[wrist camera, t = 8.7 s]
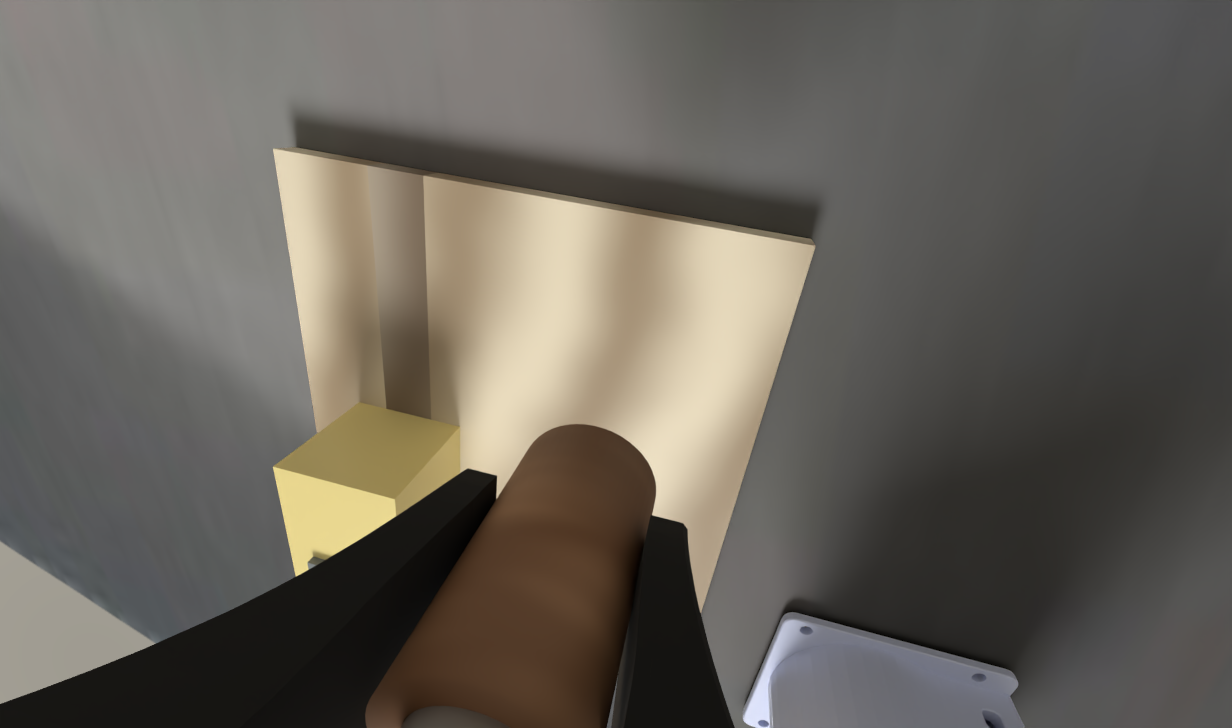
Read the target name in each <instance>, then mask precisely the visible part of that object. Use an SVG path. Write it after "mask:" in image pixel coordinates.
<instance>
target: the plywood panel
mask: <svg viewBox="0 0 1232 728" xmlns="http://www.w3.org/2000/svg"><path fill="white" fill-rule="evenodd" d="M273 151H274V157H275V164H276V170H277V177H278V183H279V190H280V196H281V203H282V209H283V216H284V222H285V229H286V235H287V241H288V248H289V254H290V261H291V267H292V274H293V280H294V287H295V293H296V300H297V306H298V313H299V319H300V326H301V332H302V339H303V345H304V351H305V358H306V364H307V371H308V377H309V384H310V390H311V397H312V403H313V410H314V416H315V423H316V429H317V433H319V432H320V431H321V430H323V429H324V428H325V427H327V426H328V425H329V424H331V423H332V422H333V421H335V420H336V419H337V418H339V417H340V416H341V415H343V414H344V413H345V412H347V411H348V410H349V409H351V408H352V407H353V406H355V405H356V404H357V403H359V402H361V403H365V404H369V405H373V406H377V407H381V408H385V409H389V410H393V411H398V412H402V413H406V414H410V415H414V416H418V417H422V418H426V419H430V420H434V421H438V422H443V423H447V424H451V425H455V426H459V427H460V473H461V472H463V471H464V470H466V469H468V468H469V469H473V470H477V471H481V472H485V473H489V474H492V475H496V476H497V494H496V499H497V498H498V496H499V494H500V493H501V491H502V490H503V488H504V487H505V485H506V483H507V482H508V480H509V479H510V477H511V476H512V474H513V472H514V471H515V469H516V468H517V466H518V465H519V463H520V461H521V460H522V458H523V457H524V455H525V453H526V452H527V450H528V449H529V447H530V446H531V445H532V443H533V442H534V441H535V440H536V439H537V438H538V437H539V436H540V435H542V434H543V433H545V432H547V431H549V430H551V429H553V428H556V427H559V426H563V425H569V424H586V425H592V426H597V427H601V428H604V429H607V430H609V431H612V432H614V433H616V434H618V435H620V436H621V437H623V438H624V439H626V440H627V441H629V442H630V443H631V444H632V445H634V446H635V447H636V448H637V449H638V450H639V451H640V452H641V454H642V455H643V456H644V457H645V459H646V460H647V462H648V463H649V465H650V467H651V469H652V472H653V475H654V477H655V482H656V499H655V504H654V509H653V513H652V515H653V516H657V517H661V518H665V519H669V520H673V521H677V522H681V523H683V524H684V525H685V526H686V528H687V529H688V546H689V555H690V562H691V569H692V575H693V580H694V586H695V591H696V596H697V600H698V605H699V609H700V613H701V611H702V608H703V605H704V602H705V598H706V595H707V592H708V589H709V586H710V582H711V579H712V576H713V573H714V570H715V566H716V563H717V560H718V557H719V554H720V550H721V547H722V544H723V541H724V538H725V534H726V531H727V528H728V525H729V522H730V518H731V515H732V512H733V509H734V506H735V502H736V499H737V496H738V493H739V490H740V486H741V483H742V480H743V477H744V474H745V470H746V467H747V464H748V461H749V458H750V454H751V451H752V448H753V445H754V442H755V438H756V435H757V432H758V429H759V426H760V422H761V419H762V416H763V413H764V410H765V406H766V403H767V400H768V397H769V394H770V390H771V387H772V384H773V381H774V378H775V374H776V371H777V368H778V365H779V362H780V358H781V355H782V352H783V349H784V346H785V342H786V339H787V336H788V333H789V330H790V326H791V323H792V320H793V317H794V314H795V310H796V307H797V304H798V301H799V298H800V294H801V291H802V288H803V285H804V282H805V278H806V275H807V272H808V269H809V266H810V262H811V259H812V256H813V253H814V250H815V244H814V243H813V241H812V239H809V238H803V237H797V236H792V235H786V234H781V233H775V232H769V231H764V230H758V229H752V228H747V227H741V226H736V225H730V224H724V223H719V222H713V221H707V220H702V219H696V218H691V217H685V216H679V215H674V214H668V213H662V212H657V211H651V210H646V209H640V208H634V207H629V206H623V205H617V204H612V203H606V202H601V201H595V200H589V199H584V198H578V197H573V196H567V195H561V194H556V193H550V192H544V191H539V190H533V189H528V188H522V187H516V186H511V185H505V184H499V183H494V182H488V181H483V180H477V179H471V178H466V177H460V176H454V175H449V174H443V173H438V172H432V171H426V170H421V169H415V168H409V167H404V166H398V165H393V164H387V163H381V162H376V161H370V160H364V159H359V158H353V157H348V156H342V155H336V154H331V153H325V152H319V151H314V150H308V149H303V148H297V147H292V148H276V149H273Z"/></svg>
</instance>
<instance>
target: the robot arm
mask: <svg viewBox="0 0 1232 728" xmlns="http://www.w3.org/2000/svg"><path fill="white" fill-rule="evenodd" d="M496 494H497V476H496V475H492V474H489V473H485V472H481V471H477V470H473V469H469V468H468V469H466V470H464V471H463V472H461V473H459V474H458V475H456V476H455V477H453V478H452V479H450V480H449V481H448V482H446V483H445V484H443V485H442V486H440V487H439V488H437V489H436V490H434V491H433V492H431V493H430V494H429V495H427V496H426V497H424V498H423V499H421V500H420V501H418V502H417V503H415V504H414V505H412V506H411V507H409V508H408V509H406V510H405V511H403V512H402V513H400V514H399V515H397V516H396V517H394V518H392V519H391V520H389V521H388V522H386V523H385V524H383V525H382V526H380V527H379V528H377V529H375V530H374V531H372V532H371V533H369V534H368V535H366V536H365V537H363V538H361V539H360V540H358V541H356V542H355V543H353V544H351V545H350V546H348V547H346V548H345V549H343V550H341V551H340V552H338V553H336V554H334V555H333V556H331V557H329V558H328V559H326V560H324V561H323V562H321V563H319V564H318V565H316V566H314V567H312V568H311V569H309V570H307V571H305V572H303V573H302V574H300V575H298V576H296V577H294V578H293V579H291V580H289V581H287V582H285V583H283V584H281V585H280V586H278V587H276V588H274V589H272V590H270V591H268V592H266V593H264V594H262V595H260V596H258V597H256V598H254V599H252V600H250V601H248V602H246V603H244V604H242V605H240V606H238V607H236V608H234V609H232V610H230V611H228V612H226V613H224V614H221V615H219V616H217V617H215V618H213V619H210V620H208V621H206V622H204V623H201V624H199V625H197V626H195V627H192V628H190V629H188V630H186V631H183V632H181V633H179V634H177V635H174V636H172V637H170V638H168V639H165V640H163V641H161V642H159V643H156V644H154V645H152V646H150V647H147V648H145V649H143V650H140V651H138V652H135V653H133V654H131V655H128V656H126V657H123V658H121V659H118V660H116V661H113V662H111V663H108V664H106V665H103V666H101V667H98V668H96V669H93V670H91V671H88V672H86V673H83V674H80V675H78V676H75V677H72V678H70V679H67V680H64V681H62V682H59V683H56V684H54V685H51V686H48V687H46V688H43V689H41V690H38V691H36V692H33V693H30V694H27V695H24V696H21V697H19V698H16V699H13V700H10V701H8V702H5V703H2V704H0V728H367V726H366V720H365V713H366V707H367V704H368V702H369V700H370V698H371V696H372V695H373V693H374V692H375V690H376V688H377V687H378V685H379V684H380V682H381V681H382V679H383V677H384V676H385V674H386V673H387V671H388V670H389V668H390V666H391V665H392V663H393V662H394V660H395V659H396V657H397V655H398V654H399V652H400V651H401V649H402V647H403V646H404V644H405V643H406V641H407V640H408V638H409V636H410V635H411V633H412V632H413V630H414V629H415V627H416V625H417V624H418V622H419V621H420V619H421V618H422V616H423V614H424V613H425V611H426V610H427V608H428V606H429V605H430V603H431V602H432V600H433V599H434V597H435V595H436V594H437V592H438V591H439V589H440V588H441V586H442V584H443V583H444V581H445V580H446V578H447V576H448V575H449V573H450V572H451V570H452V569H453V567H454V565H455V564H456V562H457V561H458V559H459V558H460V556H461V554H462V553H463V551H464V550H465V548H466V547H467V545H468V543H469V542H470V540H471V539H472V537H473V535H474V534H475V532H476V531H477V529H478V528H479V526H480V524H481V523H482V521H483V520H484V518H485V517H486V515H487V513H488V512H489V510H490V509H491V507H492V506H493V504H494V502H495V501H496ZM804 626H807V627H804ZM1017 687H1018V681H1017V679H1016V677H1015V675H1014V673H1013V672H1012V671H1010V670H1007V669H1004V668H1000V667H997V666H993V665H989V664H986V663H982V662H978V661H974V660H971V659H967V658H963V657H959V656H956V655H952V654H948V653H945V652H941V651H937V650H933V649H930V648H926V647H922V646H919V645H915V644H911V643H907V642H904V641H900V640H896V639H893V638H889V637H885V636H881V635H878V634H874V633H870V632H867V631H863V630H859V629H855V628H852V627H848V626H844V625H841V624H837V623H833V622H829V621H826V620H822V619H818V618H815V617H811V616H807V615H803V614H800V613H795V612H790V613H787V614H785V615H784V616H783V617H782V619H781V621H780V624H779V626H778V628H777V631H776V633H775V635H774V638H773V640H772V643H771V645H770V647H769V650H768V652H767V654H766V657H765V659H764V662H763V664H762V666H761V669H760V671H759V673H758V676H757V678H756V681H755V683H754V685H753V688H752V690H751V692H750V695H749V697H748V700H747V702H746V704H745V707H744V709H743V720H744V722H745V723H747V724H748V725H751V726H754V727H757V728H1025V727H1024V725H1023V723H1022V720H1021V718H1020V716H1019V714H1018V712H1017V710H1016V708H1015V706H1014V704H1013V701H1012V699H1011V697H1010V696H1011V694H1012V693H1013V692H1014V691H1015V689H1016V688H1017ZM611 728H734V725H733V722H732V719H731V716H730V713H729V710H728V707H727V704H726V701H725V698H724V695H723V692H722V689H721V685H720V682H719V679H718V676H717V672H716V669H715V666H714V663H713V659H712V655H711V652H710V648H709V645H708V641H707V637H706V633H705V629H704V625H703V621H702V617H701V613H700V609H699V605H698V600H697V596H696V591H695V586H694V580H693V575H692V569H691V562H690V555H689V546H688V529H687V528H686V526H685V525H684V524H683V523H681V522H677V521H673V520H669V519H665V518H661V517H657V516H653V515H651V516H650V520H649V525H648V529H647V534H646V538H645V543H644V547H643V552H642V557H641V561H640V566H639V570H638V575H637V579H636V584H635V591H634V598H633V604H632V610H631V616H630V620H629V625H628V630H627V634H626V639H625V644H624V648H623V653H622V658H621V662H620V667H619V673H618V680H617V688H616V696H615V704H614V711H613V719H612V727H611Z"/></svg>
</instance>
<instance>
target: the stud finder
mask: <svg viewBox="0 0 1232 728" xmlns="http://www.w3.org/2000/svg"><path fill="white" fill-rule="evenodd" d="M273 469H274V473H275V478H276V483H277V488H278V492H279V497H280V502H281V507H282V512H283V516H284V521H285V526H286V531H287V536H288V540H289V545H290V550H291V555H292V560H293V564H294V569H295V574H296V576H298V575H300V574H302V573H303V572H305V571H307V570H309V569H311V568H312V567H314V566H316V565H318V564H319V563H321V562H323V561H324V560H326V559H328V558H329V557H331V556H333V555H334V554H336V553H338V552H340V551H341V550H343V549H345V548H346V547H348V546H350V545H351V544H353V543H355V542H356V541H358V540H360V539H361V538H363V537H365V536H366V535H368V534H369V533H371V532H372V531H374V530H375V529H377V528H379V527H380V526H382V525H383V524H385V523H386V522H388V521H389V520H391V519H392V518H394V517H396V516H397V515H399V514H400V513H402V512H403V511H405V510H406V509H408V508H409V507H411V506H412V505H414V504H415V503H417V502H418V501H420V500H421V499H423V498H424V497H426V496H427V495H429V494H430V493H431V492H433V491H434V490H436V489H437V488H439V487H440V486H442V485H443V484H445V483H446V482H448V481H449V480H450V479H452V478H453V477H455V476H456V475H458V474H459V473H460V427H459V426H455V425H451V424H447V423H443V422H438V421H434V420H430V419H426V418H422V417H418V416H414V415H410V414H406V413H402V412H398V411H393V410H389V409H385V408H381V407H377V406H373V405H369V404H365V403H361V402H359V403H357V404H356V405H355V406H353V407H352V408H351V409H349V410H348V411H347V412H345V413H344V414H343V415H341V416H340V417H339V418H337V419H336V420H335V421H333V422H332V423H331V424H329V425H328V426H327V427H325V428H324V429H323V430H321V431H320V432H319V433H317V434H316V435H315V436H313V437H312V438H311V439H309V440H308V441H307V442H305V443H304V444H303V445H301V446H300V447H299V448H297V449H296V450H295V451H293V452H292V453H291V454H289V455H288V456H287V457H285V458H284V459H283V460H281V461H280V462H279V463H277V464H276V465H275V466H273Z"/></svg>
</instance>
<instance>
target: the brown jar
mask: <svg viewBox="0 0 1232 728" xmlns="http://www.w3.org/2000/svg"><path fill="white" fill-rule="evenodd" d="M655 499H656V482H655V477H654V475H653V472H652V469H651V467H650V465H649V463H648V462H647V460H646V459H645V457H644V456H643V455H642V454H641V452H640V451H639V450H638V449H637V448H636V447H635V446H634V445H632V444H631V443H630V442H629V441H627V440H626V439H624V438H623V437H621V436H620V435H618V434H616V433H614V432H612V431H609V430H607V429H604V428H601V427H597V426H592V425H586V424H569V425H563V426H559V427H556V428H553V429H551V430H549V431H547V432H545V433H543V434H542V435H540V436H539V437H538V438H537V439H536V440H535V441H534V442H533V443H532V445H531V446H530V447H529V449H528V450H527V452H526V453H525V455H524V457H523V458H522V460H521V461H520V463H519V465H518V466H517V468H516V469H515V471H514V472H513V474H512V476H511V477H510V479H509V480H508V482H507V483H506V485H505V487H504V488H503V490H502V491H501V493H500V494H499V496H498V498H497V499H496V501H495V502H494V504H493V506H492V507H491V509H490V510H489V512H488V513H487V515H486V517H485V518H484V520H483V521H482V523H481V524H480V526H479V528H478V529H477V531H476V532H475V534H474V535H473V537H472V539H471V540H470V542H469V543H468V545H467V547H466V548H465V550H464V551H463V553H462V554H461V556H460V558H459V559H458V561H457V562H456V564H455V565H454V567H453V569H452V570H451V572H450V573H449V575H448V576H447V578H446V580H445V581H444V583H443V584H442V586H441V588H440V589H439V591H438V592H437V594H436V595H435V597H434V599H433V600H432V602H431V603H430V605H429V606H428V608H427V610H426V611H425V613H424V614H423V616H422V618H421V619H420V621H419V622H418V624H417V625H416V627H415V629H414V630H413V632H412V633H411V635H410V636H409V638H408V640H407V641H406V643H405V644H404V646H403V647H402V649H401V651H400V652H399V654H398V655H397V657H396V659H395V660H394V662H393V663H392V665H391V666H390V668H389V670H388V671H387V673H386V674H385V676H384V677H383V679H382V681H381V682H380V684H379V685H378V687H377V688H376V690H375V692H374V693H373V695H372V696H371V698H370V700H369V702H368V704H367V707H366V713H365V720H366V726H367V728H606V727H607V723H608V718H609V713H610V709H611V704H612V699H613V695H614V690H615V686H616V681H617V676H618V672H619V667H620V662H621V658H622V653H623V648H624V644H625V639H626V634H627V630H628V625H629V620H630V616H631V610H632V604H633V598H634V591H635V584H636V579H637V575H638V570H639V566H640V561H641V557H642V552H643V547H644V543H645V538H646V534H647V529H648V525H649V520H650V516H651V515H652V513H653V509H654V504H655Z"/></svg>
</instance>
